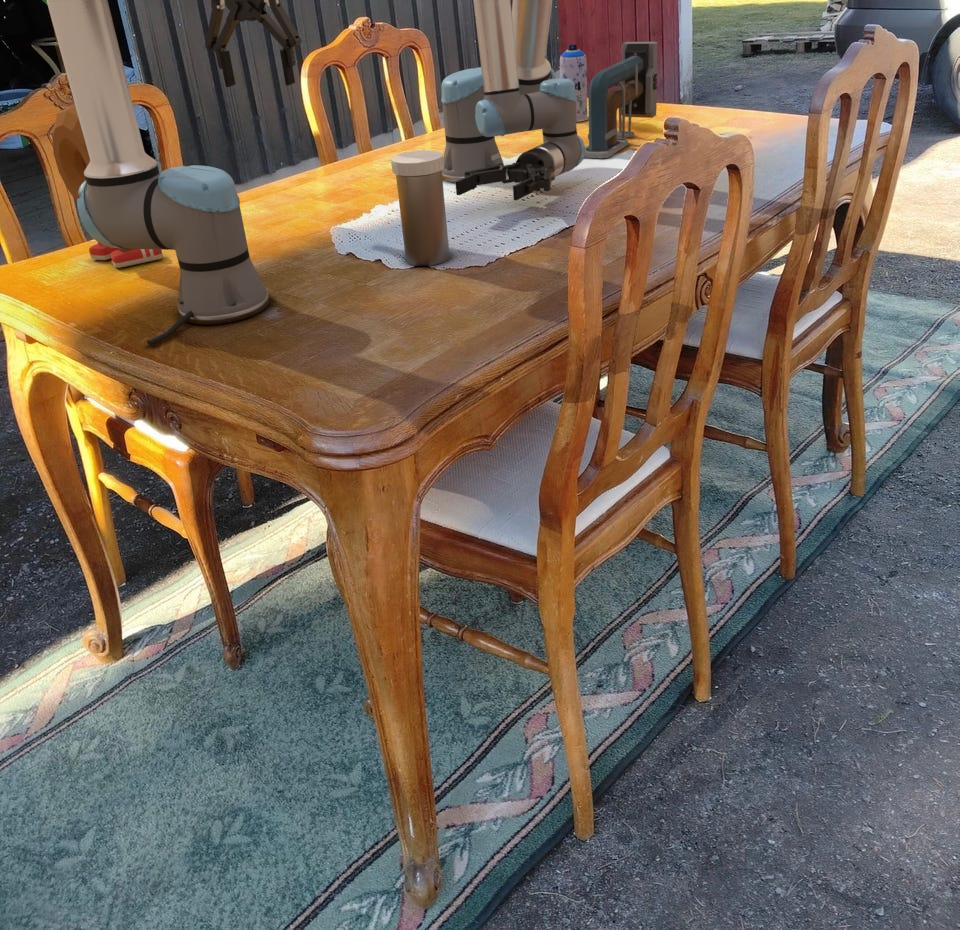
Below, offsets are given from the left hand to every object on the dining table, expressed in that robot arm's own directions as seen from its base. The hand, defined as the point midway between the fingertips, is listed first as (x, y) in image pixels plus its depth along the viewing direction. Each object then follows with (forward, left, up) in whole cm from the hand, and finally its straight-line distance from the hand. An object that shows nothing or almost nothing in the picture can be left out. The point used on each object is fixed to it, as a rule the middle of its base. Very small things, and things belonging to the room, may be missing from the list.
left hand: (260, 85), depth 196 cm
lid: (-21, -41, -10) cm, 47 cm away
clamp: (+71, -60, -28) cm, 97 cm away
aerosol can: (+98, -43, -28) cm, 111 cm away
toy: (-26, +23, -28) cm, 45 cm away
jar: (-21, -41, -28) cm, 54 cm away
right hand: (-2, -47, -21) cm, 51 cm away
